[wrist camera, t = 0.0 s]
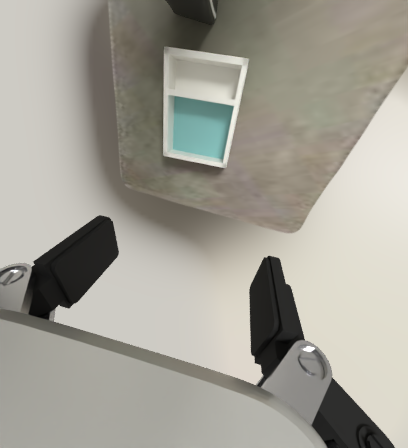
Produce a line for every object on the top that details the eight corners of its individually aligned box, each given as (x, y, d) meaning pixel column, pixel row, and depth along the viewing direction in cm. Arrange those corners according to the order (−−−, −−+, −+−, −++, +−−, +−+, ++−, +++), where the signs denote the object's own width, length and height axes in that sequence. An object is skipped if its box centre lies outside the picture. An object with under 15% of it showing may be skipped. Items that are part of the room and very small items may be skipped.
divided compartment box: (172, 53, 29) (163, 46, 26) (248, 64, 28) (248, 58, 25) (170, 152, 38) (163, 155, 35) (227, 163, 37) (225, 168, 34)
